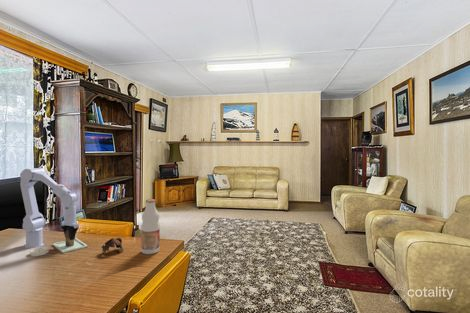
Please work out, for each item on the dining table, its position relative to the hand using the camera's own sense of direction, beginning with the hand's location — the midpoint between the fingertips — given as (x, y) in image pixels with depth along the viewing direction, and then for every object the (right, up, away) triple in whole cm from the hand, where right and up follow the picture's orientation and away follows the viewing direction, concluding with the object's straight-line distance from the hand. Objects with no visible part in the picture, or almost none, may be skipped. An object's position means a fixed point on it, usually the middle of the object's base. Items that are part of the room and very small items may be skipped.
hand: (70, 238), depth 145 cm
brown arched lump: (+28, -5, -6) cm, 29 cm away
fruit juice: (+47, -5, -5) cm, 48 cm away
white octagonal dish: (-9, -5, -11) cm, 15 cm away
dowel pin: (0, -4, 0) cm, 4 cm away
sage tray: (0, -5, 0) cm, 5 cm away
